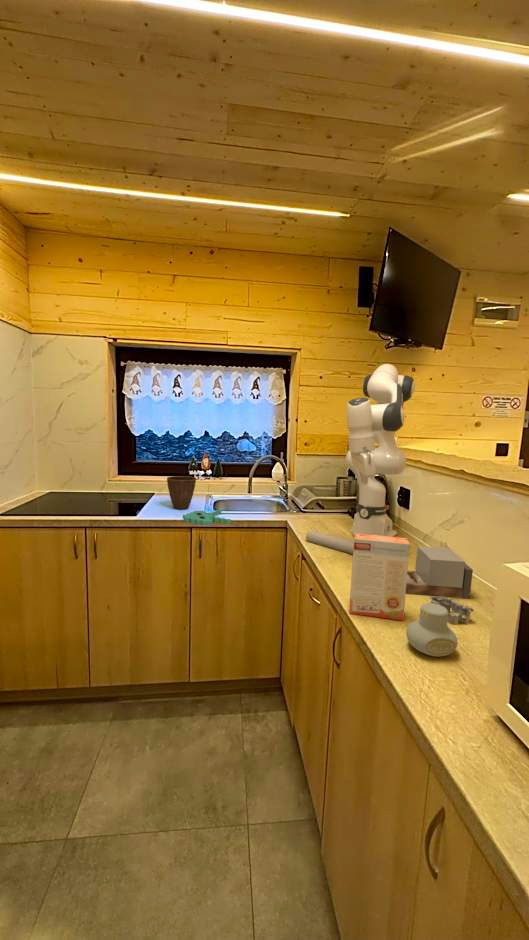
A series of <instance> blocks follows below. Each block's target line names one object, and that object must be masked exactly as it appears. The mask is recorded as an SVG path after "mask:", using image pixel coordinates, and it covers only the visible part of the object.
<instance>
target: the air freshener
mask: <svg viewBox="0 0 529 940" xmlns="http://www.w3.org/2000/svg"><path fill="white" fill-rule="evenodd" d="M419 610H420V611H419V619H417V620H415V621H413V622H411V623H410V624H408V626H407V627H406V632H405V634H406V638H407V641H408V642H409V644H410V645H411V646H412V648H414V649H416V650H417V651H419V652H420V653H422V654H425V655H427V656H430V657H434V658H438V657H445V656H448V655H450V654H453V652H455V650H456V649H457V647H458V638H457V635H456V633H455V632H454V631H453V630H452V629H451V628H450V626H448V622H447V621H448V610H447V609H446V608H445V607H443V606H441V605H438V604H434V603H431V602H428V603H427V602H425V603H423V604H421V606H420V609H419Z"/></svg>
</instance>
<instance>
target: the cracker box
mask: <svg viewBox="0 0 529 940" xmlns="http://www.w3.org/2000/svg"><path fill="white" fill-rule="evenodd" d="M353 541H354V550H353V555H352V565H351V578H350V595H349V609H348V610H349V611H348V612H349V614H353V615H361V616H368V617H375V618H382V619H387V620H388V619H389V620H397V621H404V616H405V615H404V614H405V603H406V595H407V594H406V582H407V571H408V570H409V556H410V548H411V547H410V545H411V544H410V541H409V540H408V538H407V537H397V536H394V537H389V536H378V535H368V534H358V533H355V536H354V540H353Z"/></svg>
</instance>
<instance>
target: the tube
mask: <svg viewBox="0 0 529 940" xmlns="http://www.w3.org/2000/svg"><path fill="white" fill-rule="evenodd" d="M305 539H306V540H307V542H309V543H312V544H315V545H319V546H322V547H326V548H328V549H331V550H336V551H339V552H343V553H346V554H350V555H352V554H353V550H354V540H352V539H347V538H344V537H339V536H336V535H332V534H328V533H325V532H320V531H317V530H314V529H312V530H310V531H307V532H306V536H305Z"/></svg>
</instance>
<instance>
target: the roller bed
mask: <svg viewBox="0 0 529 940" xmlns="http://www.w3.org/2000/svg"><path fill="white" fill-rule="evenodd" d="M473 572H474V569H472V568H471V567H470V566H469V565H467V563H466V562H465V567H464V576H463V585H462V588H459V587H445V586H430V585H427V584H426V582H425V581H424V580H423V579H422V577H421V576H420V575H419V574H418V572H417V571H416V570H409V569H408V571H407V582H406V594H405V595H419V596H432V597H435V596H436V597H442V596H444V598H445V597H446V598H447V597H448V598H461V599H468V600H470V597H471V588H472V581H473V580H472V579H473Z"/></svg>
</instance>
